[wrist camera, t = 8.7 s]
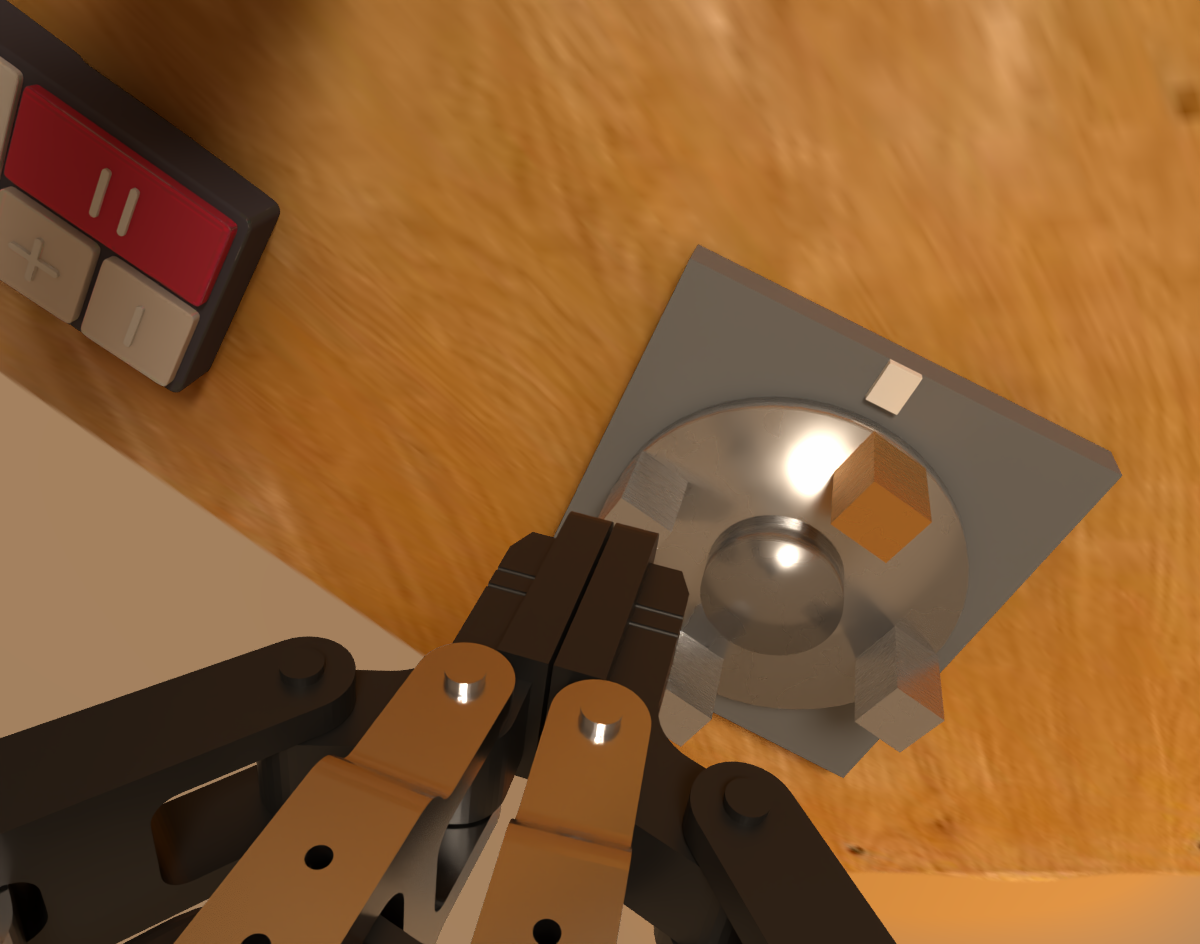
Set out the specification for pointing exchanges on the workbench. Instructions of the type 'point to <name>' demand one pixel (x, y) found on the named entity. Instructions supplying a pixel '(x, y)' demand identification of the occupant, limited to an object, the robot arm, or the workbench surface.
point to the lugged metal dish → (800, 563)
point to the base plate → (880, 393)
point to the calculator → (118, 212)
